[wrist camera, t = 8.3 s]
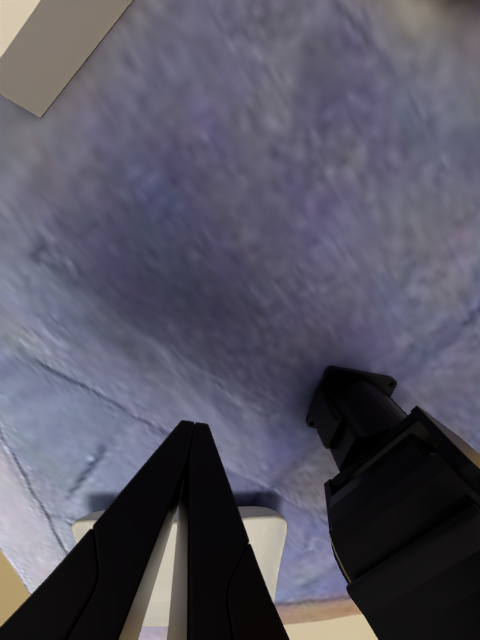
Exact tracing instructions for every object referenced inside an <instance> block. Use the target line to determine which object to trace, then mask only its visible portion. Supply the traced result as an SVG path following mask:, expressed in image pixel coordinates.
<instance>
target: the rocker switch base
mask: <svg viewBox="0 0 480 640" xmlns="http://www.w3.org/2000/svg"><path fill="white" fill-rule="evenodd" d="M132 1H133V0H0V94H1V95H2V96H4V97H6V98H7V99H9V100H11V101H12V102H14V103H16V104H17V105H19V106H21V107H22V108H24V109H26V110H27V111H29V112H31V113H33V114H34V115H36V116H38V117H39V118H41V117H42V115H43V114H44V113H45V112H46V110H47V109H48V108H49V107H50V105H51V104H52V103H53V101H54V100H55V99H56V98H57V96H58V95H59V94H60V93H61V91H62V90H63V89H64V87H65V86H66V85H67V84H68V82H69V81H70V80H71V79H72V77H73V76H74V75H75V73H76V72H77V71H78V70H79V68H80V67H81V66H82V65H83V63H84V62H85V61H86V59H87V58H88V57H89V56H90V54H91V53H92V52H93V51H94V49H95V48H96V47H97V45H98V44H99V43H100V42H101V40H102V39H103V38H104V37H105V35H106V34H107V33H108V31H109V30H110V29H111V28H112V26H113V25H114V24H115V22H116V21H117V20H118V19H119V17H120V16H121V15H122V14H123V12H124V11H125V10H126V8H127V7H128V6H129V5H130V3H131V2H132Z"/></svg>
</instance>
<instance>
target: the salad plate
mask: <svg viewBox="0 0 480 640" xmlns="http://www.w3.org/2000/svg"><path fill="white" fill-rule="evenodd" d="M238 509H239V512H240V515H241V518H242V521H243V523H244V526H245V529H246V532H247V535H248V537H249V544H251V545H252V548H253V551H254V554H255V557H256V560H257V562H258V565H259V568H260V570H261V573H262V575H263V578H264V581H265V583H266V586H267V589H268V591H269V594H270V596H271V598H272V601H273V603H274V598H275V591H276V585H277V578H278V572H279V567H280V562H281V557H282V552H283V548H284V543H285V538H286V533H287V522H286V520H285V518H284V517H283V516H282V515H281V514H280V513H278V512H277V511H275V510H272V509H269V508H265V507H258V506H243V507H238ZM104 511H105V510H102V511H97V512H94V513H91V514H88V515H86V516H84V517H82V518H80V519H78V520H77V521H75V522H74V523H73V525H72V531H73V534H74V537H75V539H76V543H78V542H79V541H80V540H81V538H82V537H83V536H84V535H85V534H86V533H87V531H88V530H89V529H92V527H93V524H94V523H95V522H96V521H97V520H98V519H99V517H100V516H101V515H102V514H103V513H104ZM178 511H179V507H178V508H177V512H176V515H175V518H174V522H173V525H172V528H171V532H170V535H169V538H168V542H167V545H166V548H165V552H164V555H163V558H162V562H161V565H160V568H159V571H158V575H157V578H156V581H155V585H154V588H153V591H152V595H151V598H150V601H149V605H148V608H147V611H146V614H145V618H144V621H143V624H142V626H168V624H169V613H170V601H171V590H172V578H173V567H174V556H175V544H176V533H177V521H178Z"/></svg>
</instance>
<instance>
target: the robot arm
mask: <svg viewBox="0 0 480 640" xmlns="http://www.w3.org/2000/svg"><path fill="white" fill-rule="evenodd" d="M332 371H334V372H333V373H332V374H330V373H331V372H332ZM390 382H391V383H390ZM389 383H390V384H389ZM396 385H397V381H396V380H395V379H394V378H392V377H388V376H383V375H378V374H372V373H367V372H361V371H356V370H350V369H345V368H340V367H334V366H330V367H328V368H327V369H326V371H325V373H324V376H323V378H322V381H321V383H320V386H319V387H318V388H317V390H316V392H315V395H314V397H313V400H312V402H311V405H310V407H309V413H308V416H307V418H306V423H307V425H308V426H309V427H311V428H316V429H317V431H318V434H319V436H320V438H321V441H322V443H323V445H324V447H325V448H326V449H330V451H331V453H332V456H333V458H334V460H335V462H336V464H337V467H338V469H339V471H340V473H339V474H338V475H336V476H335V477H334V478H333V479H332V480H331V479H329V480H328V481H327V482H326V483H324V488H325V496H326V505H327V514H328V522H329V537H330V540H331V545H332V549H333V553H334V557H335V560H336V561H337V563H338V566H339V568H340V570H341V572H342V574H343V576H344V578H345V580H346V581H347V583H348V585H347V586H346V589H347V592H348V594H349V596H350V597H351V598H352V600H353V601H354V603H355V604H356V605H357V607H358V608H359V609H360V611H361V612H362V614H363V615H364V616H365V618H366V620H367V621H368V623H369V625H370V626H371V628H372V629H373V631H374V633H375V635H376V637H377V638H378V640H480V454H479V453H477V452H476V451H475V450H474V449H473V448H472V447H471V446H469V445H468V444H467V443H466V442H465V441H464V440H462V439H461V438H460V437H459V436H458V435H456V434H455V433H454V432H452V431H451V430H450V429H448V428H447V427H445V426H444V425H443V424H441V423H440V422H439V421H437V420H436V419H435V418H433V417H432V416H431V415H429V414H428V413H427V412H425V411H424V410H423V409H421V408H420V407H418V406H416V407H415V408H413V409H412V410H411V413H410V414H409V415H407V414H406V413H405V412H404V411H403V410H402V409H401V407H400V406H399V405H398V404H397V403H396V402H395V401H394V400H393V399H392V398H391V397H390V396H391V395H392V393H393V391H394V389H395V387H396ZM311 421H313V422H311ZM193 429H194V430H193ZM192 434H193V435H192ZM185 470H186V471H185ZM184 475H185V476H184ZM183 480H184V481H183ZM182 485H183V486H182ZM181 490H182V491H181ZM180 495H181V497H180ZM179 500H180V503H179ZM178 504H179V511H178V521H177V533H176V544H175V556H174V567H173V578H172V590H171V601H170V613H169V624H168V635H167V640H289V637H288V635H287V633H286V631H285V628H284V626H283V624H282V621H281V619H280V617H279V615H278V612H277V610H276V608H275V605H274V603H273V601H272V598H271V596H270V594H269V591H268V589H267V586H266V583H265V581H264V578H263V575H262V573H261V570H260V568H259V565H258V562H257V560H256V557H255V554H254V551H253V548H252V545H251V544H249V537H248V535H247V532H246V529H245V526H244V523H243V521H242V518H241V515H240V512H239V509H238V507H237V504H236V501H235V498H234V495H233V492H232V490H231V487H230V484H229V481H228V478H227V476H226V473H225V470H224V467H223V464H222V461H221V459H220V456H219V453H218V450H217V447H216V445H215V442H214V439H213V436H212V433H211V431H210V428H209V425H208V424H206V423H199V422H196V423H195V425H194V422H192V421H185V420H182V421H181V422H180V423H179V424H178V425H177V426H176V427H175V428H174V430H173V431H172V432H171V433H170V434H169V436H168V437H167V438H166V439H165V440H164V441H163V443H162V444H161V445H160V446H159V447H158V449H157V450H156V451H155V452H154V453H153V455H152V456H151V457H150V458H149V459H148V460H147V462H146V463H145V464H144V465H143V466H142V468H141V469H140V470H139V471H138V472H137V473H136V475H135V476H134V477H133V478H132V479H131V481H130V482H129V483H128V484H127V485H126V487H125V488H124V489H123V490H122V491H121V492H120V494H119V495H118V496H117V497H116V498H115V500H114V501H113V502H112V503H111V504H110V506H109V507H108V508H107V509H106V510H105V511H104V513H103V514H102V515H101V516H100V517H99V519H98V520H97V521H96V522H95V523H94V524H93V527H92V529H89V530H88V531H87V533H86V534H85V535H84V536H83V537H82V538H81V540H80V541H79V542H78V543H77V544H76V546H75V547H74V548H73V549H72V550H71V551H70V552H69V554H68V555H67V556H66V557H65V558H64V559H63V560H62V562H61V563H60V564H59V565H58V566H57V567H56V568H55V570H54V571H53V572H52V573H51V574H50V575H49V576H48V577H47V579H46V580H45V581H44V582H43V583H42V584H41V585H40V586H39V587H38V588H37V589H36V590H35V591H34V592H33V593H32V594H31V595H30V597H29V598H28V599H27V600H26V601H25V602H24V603H23V604H22V605H21V606H20V607H19V608H18V609H17V610H16V611H15V612H14V614H12V616H11V617H10V618H9V619H8V620H7V621H6V622H5V623H4V624H3V625H2V626H1V627H0V640H138V638H139V634H140V631H141V628H142V624H143V621H144V618H145V614H146V611H147V608H148V605H149V601H150V598H151V595H152V591H153V588H154V585H155V581H156V578H157V575H158V571H159V568H160V565H161V562H162V558H163V555H164V552H165V548H166V545H167V542H168V538H169V535H170V532H171V528H172V525H173V522H174V518H175V515H176V512H177V508H178Z"/></svg>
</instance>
